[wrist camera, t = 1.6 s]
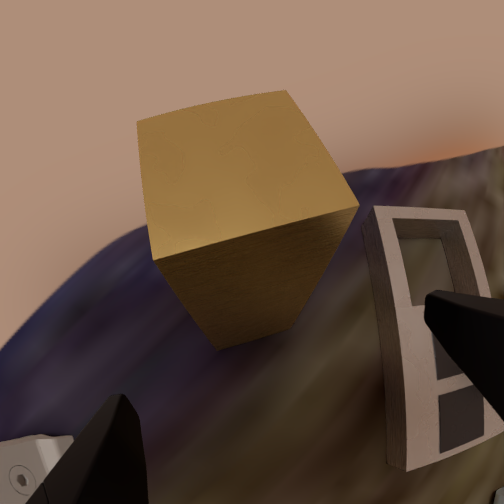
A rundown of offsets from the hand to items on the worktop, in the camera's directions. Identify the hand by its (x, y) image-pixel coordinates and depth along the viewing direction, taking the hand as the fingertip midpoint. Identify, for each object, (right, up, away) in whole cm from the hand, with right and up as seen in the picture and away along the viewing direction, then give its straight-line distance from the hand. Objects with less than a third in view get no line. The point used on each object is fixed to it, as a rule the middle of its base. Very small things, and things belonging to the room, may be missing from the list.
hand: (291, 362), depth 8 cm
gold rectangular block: (-2, -1, +13) cm, 13 cm away
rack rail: (+12, -3, +12) cm, 17 cm away
